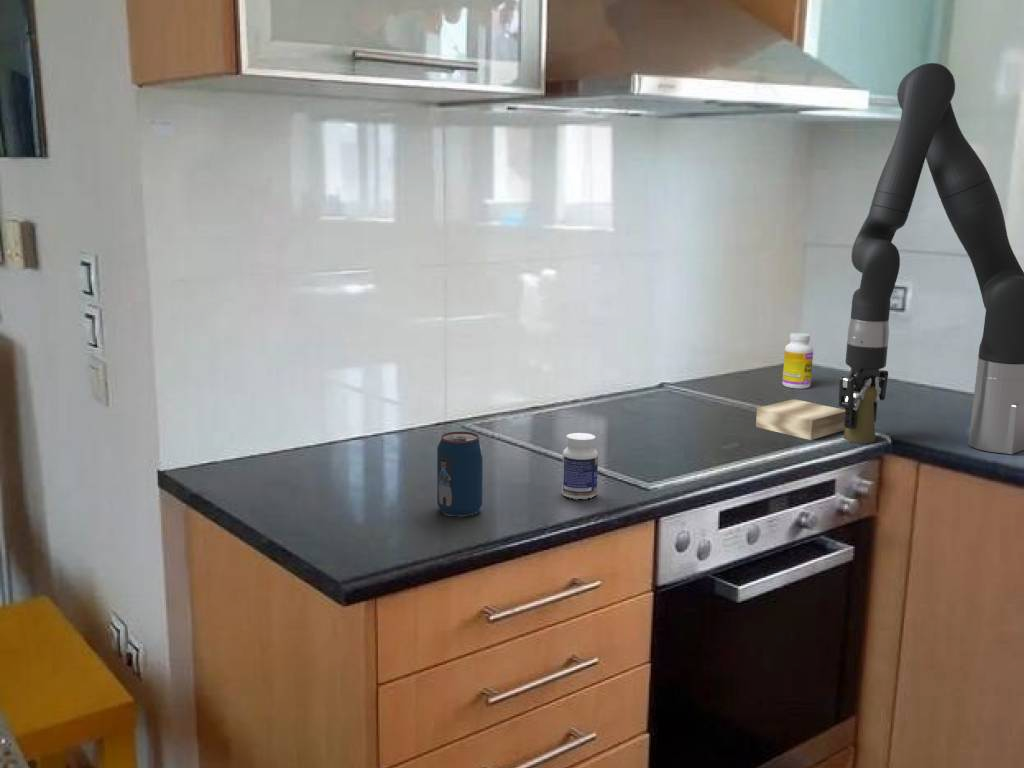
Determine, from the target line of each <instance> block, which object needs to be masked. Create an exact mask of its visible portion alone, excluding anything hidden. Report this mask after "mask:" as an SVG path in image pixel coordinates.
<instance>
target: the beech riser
mask: <svg viewBox="0 0 1024 768" xmlns="http://www.w3.org/2000/svg"><path fill="white" fill-rule="evenodd" d="M755 419H756V421H755V427H756V428H758V429H763V430H767V431H771V432H777V433H780V434H784V435H788V436H791V437H792V436H793V437H797V438H801V439H804V440H805V439H806V440H809V441H812V440H816V439H819V438H822V437H826V436H830V435H832V434H833V435H834V434H836V433H839V432H844V431H845V428H846V427H845V426H844V422H845V409H844V408H839V407H838V408H837V407H832V406H828V405H824V404H823V405H822V404H819V403H815V402H809V401H806V400H805V401H804V400H801V399H795V398H794V399H793V398H792V399H788V400H784V401H780V402H776V403H773V404H768V405H763V406H759V407H757V408H756V418H755Z"/></svg>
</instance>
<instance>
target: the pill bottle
mask: <svg viewBox="0 0 1024 768" xmlns="http://www.w3.org/2000/svg"><path fill="white" fill-rule="evenodd" d="M565 443H566V444H567V447H565V448H564V450H563V451H562V471H561V472H562V476H561V493H562V495H563V496H564V497H565V496H566V497H565V498H567V497H569V499H571V498H573V499H572V500H578V499H583V500H589V499H588V498H590V499H593V498H595V497H594V496H597V494H598V493H597V492H598V474H599V473H598V468H599V465H598V464H599V453H598V451H597V449H596V448H595V447H594V446H595V445H596V435H594V434H592V433H585V432H573V433H569V434H566V440H565ZM592 497H593V498H592Z"/></svg>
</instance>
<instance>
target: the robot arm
mask: <svg viewBox="0 0 1024 768" xmlns="http://www.w3.org/2000/svg"><path fill="white" fill-rule="evenodd" d="M955 91H956V82H955V77H954V76H953V73H952V71H950V69H948V67H946V66H944V65H942V64H941V63H937V62H936V63H935V62H929V63H925V64H921V65H919V66H916V67H915V68H913V69H912V70H911V71H909V72H908V73H907V74H906V75H905V76H904V77H903V78H902V80H901V81H900V83H899V86H898V88H897V93H896V95H897V97H896V98H897V103H898V106H899V107H900V110H901V115H900V122H899V126H898V130H897V133H896V136H895V139H894V142H893V144H892V146H891V147H892V148H891V149H890V152H889V154H888V157H887V160H886V162H885V164H884V167H883V168H882V172H881V174H880V176H879V179H878V182H877V185H876V188H875V191H874V193H873V198H872V201H871V203H870V207H869V211H868V212H869V213H868V214H867V216H866V218H865V220H864V221H863V223H862V226H861V227H860V230H859V232H858V234H857V235H856V238H855V240H854V242H853V245H852V249H851V263H852V265H853V267H854V268H855V269H856V270H857V271H858V272H859V273H862V274H861V280H860V285H859V288H858V289H856V290H855V291H854V293H853V295H852V300H851V309H850V310H851V312H850V321H849V325H848V328H847V341H846V351H845V352H846V353H845V365H847V366H849V368H850V373H849V375H848V376H846V377H845V376H840V378H839V389H838V406H839V407H841V408H842V409H844V410H845V422H844V426H845V427H846V428H850V429H855V428H856V424H857V413H858V410H857V409H858V406H859V404H860V401H862V400H863V399H864V397H865V394H866V391H867V389H868V387H870V385H871V386H874V387H875V388H876V389H877V397H876V400H875V401H874V402H873V403H874V424H876V422H877V413H878V406H879V405H880V403H881V401H885V399H886V394H887V393H886V392H887V387H888V378H889V371H888V370H884V368H885V367H887V358H888V350H889V349H888V348H889V347H888V346H889V336H890V326H889V325H890V323H889V322H890V321H889V319H890V314H891V313H890V312H891V311H890V310H891V298H892V295H893V292H894V290H895V286H896V282H897V279H898V275H899V273H900V272H899V271H900V265H901V257H900V251H899V250H898V247H897V246H896V245H895V244H894V243H893V240H894V236H895V234H896V232H897V230H899V229H901V228H903V227H904V226H905V224H906V223H907V220H908V218H909V214H910V211H911V208H912V206H913V201H914V198H915V195H916V192H917V189H918V185H919V181H920V177H921V174H922V171H923V167H924V163H925V161H926V164H927V165H928V168H929V172H930V175H931V177H932V180H933V183H934V186H935V189H936V191H937V195H938V197H939V199H940V202H941V204H942V207H943V209H944V212H945V214H946V216H947V218H948V221H949V223H950V225H951V227H952V228H953V231H954V232H955V234H956V236H957V238H958V240H959V242H960V243H961V245H962V247H963V248H964V250H965V252H966V255H968V257H969V259H970V262H971V264H972V268H973V271H974V273H975V277H976V280H977V284H978V286H979V290H980V291H979V292H980V294H981V299H982V303H983V306H984V309H985V314H984V324H983V332H982V338H981V342H980V343H979V348H978V357H977V358H978V359H977V366H976V375H975V382H974V383H975V384H974V392H973V393H974V394H973V400H972V401H973V402H972V411H971V419H970V428H969V429H970V430H969V437H968V446H970V447H972V448H974V449H976V450H980V451H983V452H991V453H996V454H1008V455H1014V454H1016V453H1019V452H1022V451H1024V271H1023V268H1022V267H1021V265H1020V263H1019V261H1018V259H1017V258H1016V254H1015V253H1014V251H1013V249H1012V246H1011V243H1010V241H1009V236H1008V231H1007V226H1006V221H1005V216H1004V212H1003V208H1002V206H1001V202H1000V199H999V195H998V193H997V191H996V188H995V186H994V184H993V182H992V178H991V176H990V174H989V172H988V170H987V168H986V166H985V164H984V163H983V162H982V159H980V157H979V155H978V154H977V152H976V151H975V150H974V148H973V147H972V146H971V144H970V143H969V142H968V140H967V139H966V138H965V136H964V134H963V132H962V130H961V128H960V126H959V124H958V121H957V118H956V116H955V115H956V114H955V112H954V109H953V105H952V99H953V98H954V95H955ZM854 391H857V392H860V393H859V394H854ZM845 397H846V398H845ZM854 399H855V402H854V404H853V400H854Z"/></svg>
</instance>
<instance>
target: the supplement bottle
mask: <svg viewBox="0 0 1024 768" xmlns="http://www.w3.org/2000/svg"><path fill="white" fill-rule="evenodd" d="M789 334H790V335H789V340H790V341H789V342H790V343H788V344H786V345H785V347H784V356H783V357H784V359H783V370H782V385H783V386H784V387H786V388H791V389H795V390H796V389H799V390H800V389H808V388H810V387H811V383H812V374H813V373H812V371H813V361H814V359H813V358H814V357H813V356H814V347H813V345H811V344H810V343H809V342H810V340H811V334H810V333H805V332H804V333H803V332H791V333H789Z"/></svg>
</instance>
